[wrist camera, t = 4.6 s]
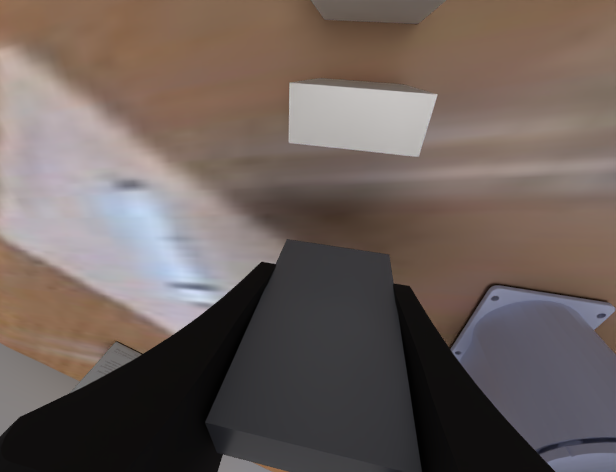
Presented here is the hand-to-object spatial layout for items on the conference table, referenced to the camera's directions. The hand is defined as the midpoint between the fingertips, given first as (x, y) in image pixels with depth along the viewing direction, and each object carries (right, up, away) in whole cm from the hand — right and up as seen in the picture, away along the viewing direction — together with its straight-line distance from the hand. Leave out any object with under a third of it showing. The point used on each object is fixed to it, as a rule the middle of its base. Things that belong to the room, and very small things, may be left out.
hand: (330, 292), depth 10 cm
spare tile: (0, +1, +1) cm, 2 cm away
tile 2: (+2, +10, +4) cm, 11 cm away
